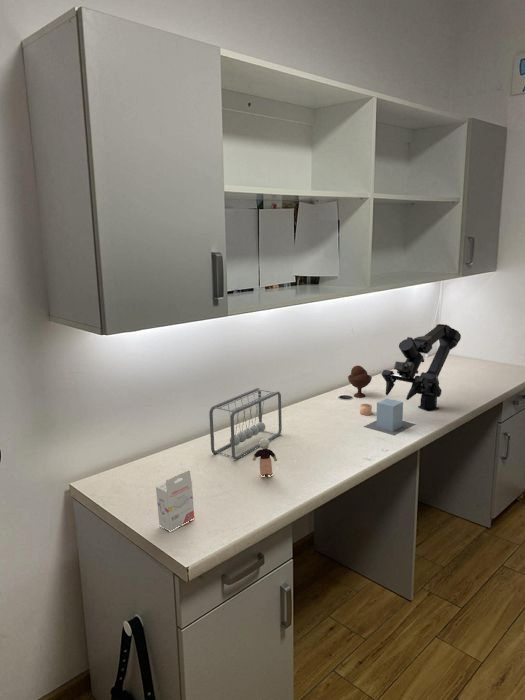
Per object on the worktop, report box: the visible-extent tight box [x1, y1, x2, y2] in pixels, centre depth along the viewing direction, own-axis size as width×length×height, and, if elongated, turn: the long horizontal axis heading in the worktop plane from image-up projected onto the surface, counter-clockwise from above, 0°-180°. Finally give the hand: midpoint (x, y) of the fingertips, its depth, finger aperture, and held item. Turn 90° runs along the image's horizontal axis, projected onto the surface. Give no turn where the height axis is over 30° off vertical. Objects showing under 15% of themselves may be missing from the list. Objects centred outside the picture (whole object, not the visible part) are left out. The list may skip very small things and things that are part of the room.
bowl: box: [359, 403, 373, 417], centre depth 221 cm, size 5×5×4 cm
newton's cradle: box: [208, 387, 283, 460], centre depth 191 cm, size 30×10×18 cm, turn 145°
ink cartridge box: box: [155, 469, 195, 531], centre depth 139 cm, size 9×5×15 cm, turn 138°
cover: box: [376, 398, 404, 431], centre depth 205 cm, size 7×7×10 cm
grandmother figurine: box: [252, 437, 278, 476], centre depth 166 cm, size 8×4×13 cm, turn 99°
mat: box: [363, 419, 416, 436], centre depth 207 cm, size 16×14×1 cm
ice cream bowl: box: [347, 365, 373, 399], centre depth 245 cm, size 11×11×15 cm
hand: (396, 397), depth 207 cm, fingers open, 9 cm apart
